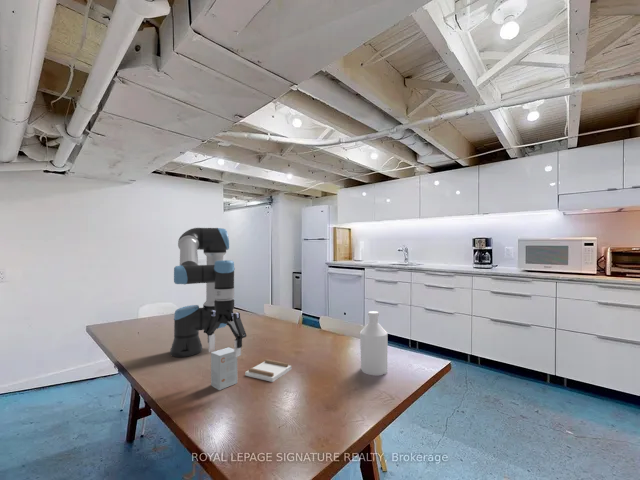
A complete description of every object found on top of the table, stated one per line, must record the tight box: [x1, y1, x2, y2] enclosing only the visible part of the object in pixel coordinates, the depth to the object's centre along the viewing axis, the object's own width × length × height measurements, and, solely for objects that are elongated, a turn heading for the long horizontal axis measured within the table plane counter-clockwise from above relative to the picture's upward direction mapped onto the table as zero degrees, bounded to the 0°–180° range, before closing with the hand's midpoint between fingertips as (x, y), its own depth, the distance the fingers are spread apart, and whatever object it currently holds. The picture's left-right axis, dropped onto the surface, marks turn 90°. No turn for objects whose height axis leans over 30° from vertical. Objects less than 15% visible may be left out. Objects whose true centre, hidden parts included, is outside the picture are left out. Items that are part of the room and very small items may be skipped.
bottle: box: [359, 310, 389, 376], centre depth 129 cm, size 12×12×25 cm
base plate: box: [244, 358, 292, 383], centre depth 127 cm, size 14×14×3 cm
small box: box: [210, 346, 238, 391], centre depth 116 cm, size 8×6×13 cm
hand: (224, 353), depth 116 cm, fingers open, 13 cm apart
